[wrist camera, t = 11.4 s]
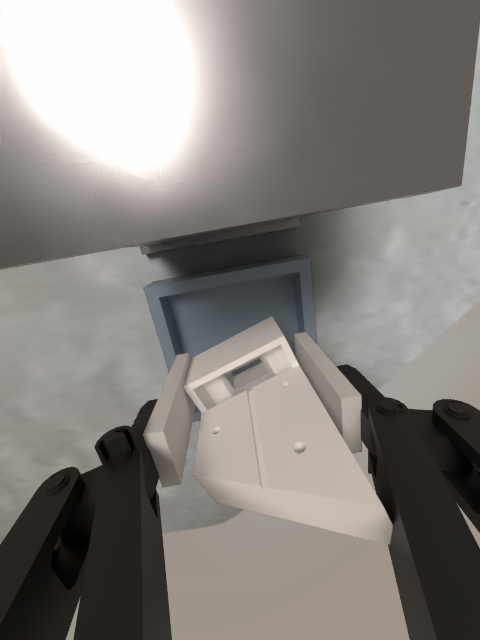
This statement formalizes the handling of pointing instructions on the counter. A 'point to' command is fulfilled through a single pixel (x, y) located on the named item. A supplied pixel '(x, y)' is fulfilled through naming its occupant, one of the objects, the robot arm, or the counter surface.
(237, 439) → the white wedge bracket
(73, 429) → the counter surface
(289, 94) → the box
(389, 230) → the counter surface
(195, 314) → the tray
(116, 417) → the counter surface
